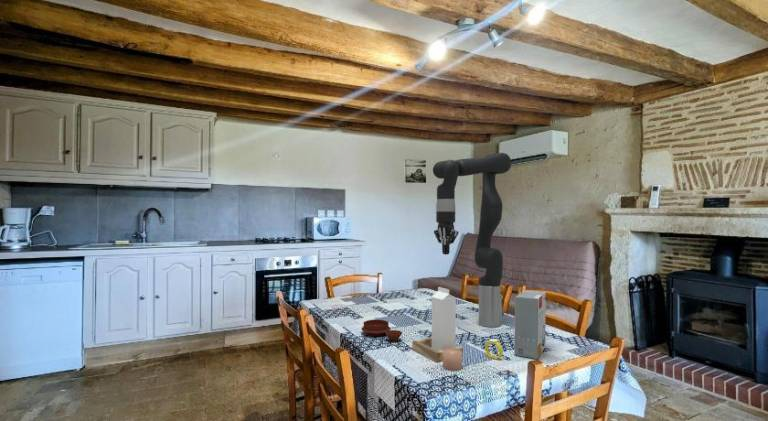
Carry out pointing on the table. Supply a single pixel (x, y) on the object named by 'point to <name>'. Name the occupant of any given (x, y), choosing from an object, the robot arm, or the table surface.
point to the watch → (497, 346)
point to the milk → (443, 320)
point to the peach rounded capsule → (452, 359)
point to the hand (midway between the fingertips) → (445, 254)
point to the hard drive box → (530, 323)
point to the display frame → (429, 349)
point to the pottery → (381, 329)
